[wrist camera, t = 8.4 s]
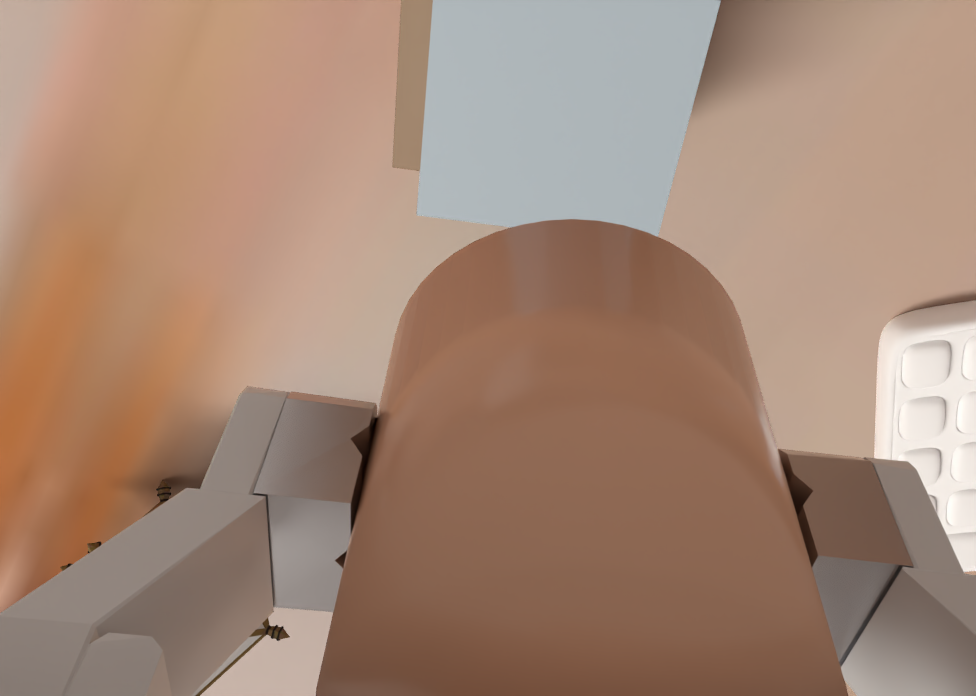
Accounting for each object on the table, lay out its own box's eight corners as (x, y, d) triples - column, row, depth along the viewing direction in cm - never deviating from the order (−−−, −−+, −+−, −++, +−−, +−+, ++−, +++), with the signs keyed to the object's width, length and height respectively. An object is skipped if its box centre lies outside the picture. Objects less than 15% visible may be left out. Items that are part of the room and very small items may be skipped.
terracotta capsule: (793, 244, 10) (943, 603, 6) (696, 509, 13) (759, 872, 9) (400, 197, 10) (309, 534, 6) (386, 474, 13) (317, 826, 9)
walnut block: (695, -114, 23) (719, -78, 20) (637, 137, 27) (649, 200, 24) (426, -151, 23) (407, -120, 20) (410, 108, 27) (392, 167, 24)
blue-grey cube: (693, -53, 20) (720, 0, 17) (641, 167, 24) (655, 245, 21) (453, -86, 20) (435, -38, 17) (433, 140, 24) (416, 215, 20)
